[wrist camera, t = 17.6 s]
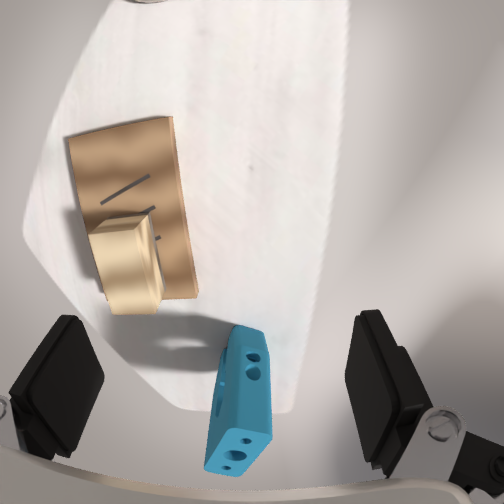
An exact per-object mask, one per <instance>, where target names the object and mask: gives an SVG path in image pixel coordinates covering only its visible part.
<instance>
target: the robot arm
mask: <svg viewBox="0 0 504 504" xmlns="http://www.w3.org/2000/svg"><path fill="white" fill-rule="evenodd" d="M135 1H138V2H145V3H154V2H161V1H166V0H135ZM103 382H104V372H103V370H102V368H101V365H100V363H99V361H98V359H97V356H96V354H95V352H94V349H93V347H92V345H91V342H90V340H89V337H88V335H87V332H86V330H85V328H84V325H83V323H82V321H81V320H79V318H78V317H77V316H75V315H61V316H60V317H59V318H58V320H57V321H56V322H55V324H54V325H53V327H52V328H51V329H50V331H49V332H48V334H47V335H46V336H45V338H44V339H43V341H42V342H41V343H40V345H39V346H38V348H37V349H36V351H35V352H34V354H33V355H32V357H31V358H30V360H29V361H28V363H27V364H26V366H25V367H24V369H23V370H22V372H21V373H20V375H19V377H18V378H17V380H16V381H15V383H14V384H13V386H12V387H11V389H10V391H9V394H10V395H11V399H10V400H9V399H8V398H7V397H5V396H2V395H0V504H504V446H501V445H499V444H496V443H494V442H491V441H488V440H486V439H484V438H482V437H479V436H476V435H474V434H472V433H469V432H467V431H466V423H465V420H464V418H463V417H462V415H461V414H460V413H459V412H458V411H457V410H455V409H453V408H451V407H447V406H436V407H433V405H432V403H431V401H430V398H429V396H428V394H427V392H426V390H425V388H424V385H423V383H422V381H421V379H420V377H419V375H418V373H417V371H416V369H415V367H414V365H413V363H412V361H411V359H410V357H409V355H408V353H407V351H406V349H405V348H404V347H403V346H397V343H396V341H395V340H394V337H393V335H392V333H391V331H390V330H389V327H388V325H387V324H386V322H385V320H384V318H383V316H382V314H381V312H380V310H378V309H376V310H364V311H361V313H360V315H358V316H356V317H355V321H354V327H353V333H352V339H351V344H350V349H349V355H348V360H347V365H346V370H345V383H346V387H347V390H348V394H349V398H350V402H351V406H352V409H353V413H354V417H355V421H356V425H357V429H358V433H359V437H360V442H361V446H362V450H363V454H364V458H365V461H366V462H371V466H372V470H374V469H380V468H382V470H383V474H384V475H386V477H385V479H381V480H373V481H366V482H358V483H350V484H342V485H334V486H325V487H315V488H302V489H287V490H261V491H236V490H235V491H233V490H210V489H194V488H184V487H174V486H165V485H158V484H150V483H144V482H138V481H132V480H127V479H121V478H116V477H111V476H107V475H102V474H98V473H93V472H89V471H85V470H81V469H77V468H74V467H70V466H67V465H63V464H60V463H56V462H55V459H54V455H55V453H56V454H57V455H59V456H62V457H66V458H70V456H71V453H72V452H73V451H75V450H76V448H77V445H78V443H79V440H80V437H81V435H82V432H83V430H84V427H85V425H86V422H87V420H88V417H89V415H90V412H91V410H92V408H93V406H94V403H95V401H96V399H97V396H98V393H99V391H100V389H101V387H102V385H103Z"/></svg>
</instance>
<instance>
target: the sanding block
mask: <svg viewBox="0 0 504 504" xmlns="http://www.w3.org/2000/svg"><path fill="white" fill-rule="evenodd" d="M88 236H89V240H90V244H91V247H92V251H93V255H94V258H95V261H96V265H97V268H98V271H99V275H100V278H101V281H102V284H103V287H104V290H105V293H106V296H107V299H108V302H109V305H110V308H111V311H112V314H113V315H132V314H156V311H157V309H158V307H159V305H160V302H161V300H162V298H163V296H164V293H165V291H166V284H165V280H164V276H163V272H162V267H161V263H160V258H159V254H158V249H157V245H156V240H155V235H154V230H153V225H152V220H151V215H150V212H148V213H139V214H131V215H123V216H115V217H108V218H107V219H106V220H105V221H103V222H102V223H101V224H100V225H99V226H98V227H96V228H95V229H94V230H93V231H92V232H91V233H90V234H88Z"/></svg>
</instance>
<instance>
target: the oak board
mask: <svg viewBox="0 0 504 504" xmlns="http://www.w3.org/2000/svg"><path fill="white" fill-rule="evenodd" d="M68 141H69V148H70V154H71V160H72V166H73V171H74V177H75V182H76V187H77V192H78V197H79V201H80V206H81V210H82V214H83V219H84V223H85V227H86V231H87V235H88V234H90V233H91V232H92V231H93V230H94V229H95V228H96V227H98V226H99V225H100V224H101V223H102V222H103V221H105V220H106V219H107V218H108V217H115V216H123V215H131V214H139V213H148V212H150V215H151V220H152V225H153V230H154V235H155V240H156V245H157V249H158V254H159V258H160V263H161V267H162V272H163V276H164V280H165V284H166V291H165V293H164V296H163V298H162V300H167V299H192V298H197V295H198V292H199V289H198V284H197V278H196V273H195V267H194V261H193V256H192V250H191V244H190V238H189V232H188V226H187V219H186V213H185V206H184V200H183V193H182V186H181V179H180V171H179V164H178V156H177V149H176V141H175V132H174V124H173V117H165V118H159V119H153V120H148V121H143V122H137V123H132V124H127V125H123V126H118V127H113V128H109V129H105V130H100V131H96V132H92V133H88V134H84V135H80V136H76V137H73V138H69V139H68ZM88 239H89V236H88ZM89 242H90V240H89ZM90 246H91V244H90ZM91 250H92V247H91ZM92 253H93V251H92ZM93 257H94V255H93ZM94 260H95V258H94ZM95 264H96V261H95ZM96 267H97V265H96ZM97 271H98V268H97ZM98 274H99V271H98ZM99 277H100V275H99ZM100 281H101V278H100ZM101 284H102V281H101ZM102 287H103V284H102ZM103 290H104V287H103ZM104 293H105V290H104ZM105 296H106V293H105ZM106 299H107V296H106ZM107 301H108V299H107Z"/></svg>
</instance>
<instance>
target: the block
mask: <svg viewBox="0 0 504 504" xmlns="http://www.w3.org/2000/svg"><path fill="white" fill-rule="evenodd" d="M271 440H272V410H271V383H270V357H269V352H268V348H267V344H266V340H265V337H264V333H263V332H261V331H259V330H255V329H252V328H248V327H245V326H241V325H236V326H234V327H233V329H232V332H231V334H230V336H229V339H228V346H227V349H225V348H224V350H223V353H222V355H221V358H220V363H219V368H218V373H217V378H216V384H215V389H214V394H213V401H212V409H211V416H210V424H209V431H208V439H207V448H206V455H205V463H204V470H205V471H208V472H212V473H216V474H222V475H227V476H233V477H238V476H241V475H242V474H243V473H244V472H245V471H246V470H247V469H248V467H249V466H250V465H251V464H252V463H253V462H254V461H255V459H256V458H257V457H258V456H259V454H260V453H261V452H262V451H263V450H264V449H265V447H266V446H267V445H268V444H269V443H270V441H271Z"/></svg>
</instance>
